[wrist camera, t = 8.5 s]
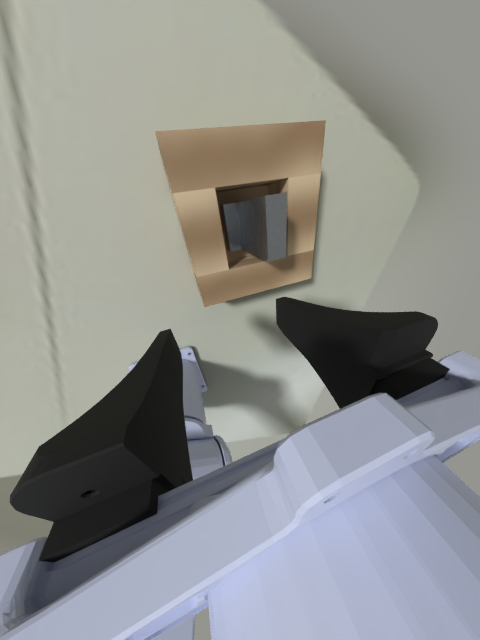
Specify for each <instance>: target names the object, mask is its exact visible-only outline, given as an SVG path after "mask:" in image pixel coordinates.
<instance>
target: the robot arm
mask: <svg viewBox="0 0 480 640" xmlns="http://www.w3.org/2000/svg"><path fill="white" fill-rule="evenodd" d="M276 318H277V325H278V326H279V328H280V329H281V331H282V332H283V334H284V335H285V336H286V337H287V338H288V339H289V340H290V341H291V342H292V344H293V345H294V346H295V347H296V348H297V349H298V350H299V351H300V352H301V353H302V354H303V355H304V357H305V358H306V359H307V360H308V362H309V363H310V364H311V366H312V367H313V368H314V370H315V371H316V372H317V374H318V375H319V377H320V378H321V380H322V381H323V382H324V384H325V385H326V387H327V388H328V390H329V392H330V393H331V395H332V396H333V398H334V400H335V401H336V403H337V405H338V406H339V408H340V409H339V410H337V411H334V412H332V413H330V414H328V415H325V416H323V417H321V418H319V419H317V420H314V421H312V422H310V423H308V424H305V425H304V426H302V427H300V428H298V429H297V430H295V431H293V432H292V433H290V434H289V435H288V436H287V437H286V438H285V439H282V440H281V441H278V442H276V443H274V444H272V445H269V446H267V447H265V448H263V449H260V450H258V451H256V452H254V453H252V454H250V455H247V456H245V457H243V458H241V459H239V460H237V461H235V462H232V457H231V454H230V451H229V449H228V447H227V445H226V443H225V442H224V440H223V439H222V438H221V437H220V436H217V435H215V436H213V430H212V425H207V424H206V417H205V411H204V405H203V398H202V393H204V392H206V391H207V386H206V383H205V381H204V378H203V375H202V373H201V370H200V367H199V365H198V362H197V360H196V357H195V354H194V352H193V349H192V348H191V347H186V348H183V349H179V347H178V345H177V343H176V340H175V338H174V336H173V333H172V331H171V329H168V330H164V331H161V332H160V333H159V334H158V336H157V337H156V338H155V340H154V341H153V343H152V344H151V346H150V347H149V349H148V350H147V351H146V353H145V354H144V355H143V357H142V358H141V359H140V360H139V362H138V363H134V364H131V365H130V366H129V370H130V372H129V374H128V375H127V376H126V377H125V378H124V379H123V380H122V381H121V382H120V383H119V384H118V385H117V386H116V387H115V388H114V389H112V390H111V391H110V392H109V393H108V394H107V395H106V396H105V397H104V398H103V399H102V400H100V401H99V402H98V403H97V404H96V405H94V406H93V407H92V408H91V409H90V410H88V411H87V412H86V413H85V414H83V415H82V416H81V417H80V418H78V419H77V420H76V421H74V422H73V423H72V424H70V425H69V426H67V427H66V428H65V429H63V430H62V431H61V432H59V433H58V434H56V435H55V436H54V437H52V438H51V439H49V440H48V441H47V442H45V443H44V444H42V445H41V446H39V448H38V449H37V451H36V453H35V454H34V456H33V458H32V460H31V461H30V463H29V465H28V466H27V468H26V470H25V471H24V473H23V475H22V477H21V478H20V480H19V482H18V483H17V485H16V487H15V488H14V490H13V492H12V494H11V495H10V503H11V505H12V506H13V508H14V509H15V510H17V511H19V512H21V513H24V514H27V515H31V516H35V517H38V518H42V519H46V520H49V521H53V522H54V524H53V526H52V529H51V531H50V534H49V536H48V537H42V538H37V539H34V540H31V541H29V542H27V543H25V544H22V545H20V546H18V547H15V548H13V549H11V550H9V551H6V552H5V553H2V554H0V640H194V625H195V624H194V623H195V617H196V614H197V613H198V612H200V611H202V610H204V609H205V608H207V607H209V614H210V615H209V616H210V627H211V639H212V640H480V497H479V496H478V495H477V494H476V493H475V492H474V491H473V490H472V489H471V488H470V487H468V486H467V485H466V484H465V483H464V482H463V481H462V480H461V479H460V478H459V477H458V476H457V475H455V474H454V473H453V472H452V471H451V470H450V469H449V468H448V467H447V466H446V465H444V464H443V463H444V462H445V461H447V460H448V459H450V458H452V457H453V456H455V455H456V454H458V453H460V452H461V451H463V450H464V449H466V448H467V447H469V446H470V445H472V444H474V443H476V442H477V441H479V440H480V360H479V359H477V358H475V357H473V356H471V355H469V354H467V353H464V352H462V351H457V352H455V353H453V354H450V355H448V356H446V357H444V358H442V359H441V360H439V361H438V362H437V361H435V360H433V359H431V357H432V356H433V354H432V353H430V352H429V351H427V350H425V349H426V347H427V346H428V344H429V343H430V341H431V339H432V338H433V336H434V334H435V332H436V330H437V327H438V322H437V320H436V318H434V317H432V316H429V315H426V314H424V313H421V312H388V313H387V312H361V311H349V310H342V309H335V308H329V307H324V306H320V305H315V304H311V303H307V302H304V301H300V300H296V299H292V298H288V297H282V298H278V299H276ZM188 353H191V354H188ZM202 385H203V386H202Z"/></svg>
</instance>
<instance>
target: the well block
mask: <svg viewBox="0 0 480 640" xmlns="http://www.w3.org/2000/svg"><path fill="white" fill-rule="evenodd" d="M325 123H326V121H310V122H295V123H279V124H264V125H248V126H233V127H217V128H202V129H187V130H171V131H156V136H157V141H158V145H159V150H160V154H161V158H162V161H163V165H164V168H165V172H166V175H167V179H168V182H169V186H170V189H171V193H172V196H173V200H174V204H175V207H176V211H177V214H178V218H179V221H180V225H181V228H182V232H183V235H184V239H185V242H186V246H187V249H188V253H189V256H190V260H191V263H192V267H193V271H194V274H195V278H196V281H197V285H198V288H199V292H200V295H201V298H202V301H203V303H204V306H205V307H207V306H210V305H214V304H218V303H221V302H225V301H229V300H233V299H236V298H240V297H244V296H248V295H251V294H255V293H259V292H262V291H266V290H270V289H274V288H277V287H281V286H285V285H288V284H292V283H296V282H300V281H303V280H307V279H311V275H312V264H313V253H314V242H315V231H316V221H317V210H318V199H319V188H320V177H321V166H322V155H323V144H324V133H325ZM286 192H287V230H286V257H285V258H281V259H277V260H273V261H266V260H264V259H262V258H260V257H257V256H255V255H253V254H251V253H249V252H247V251H244V250H237V251H233V252H230V251H228V247H227V241H226V235H225V229H224V223H223V217H222V211H221V205H225V204H231V203H237V202H241V201H245V200H249V199H254V198H258V197H262V196H266V195H273V194H279V193H286Z"/></svg>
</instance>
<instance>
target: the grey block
mask: <svg viewBox="0 0 480 640" xmlns="http://www.w3.org/2000/svg"><path fill="white" fill-rule="evenodd" d="M221 211H222V217H223V223H224V229H225V235H226V241H227V247H228V251H230V252H233V251H237V250H244V251H247V252H249V253H251V254H253V255H255V256H257V257H260V258H262V259H264V260H266V261H273V260H277V259H281V258H285V257H286V230H287V192H286V193H279V194H273V195H266V196H262V197H258V198H254V199H249V200H245V201H241V202H237V203H231V204H225V205H221Z"/></svg>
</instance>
